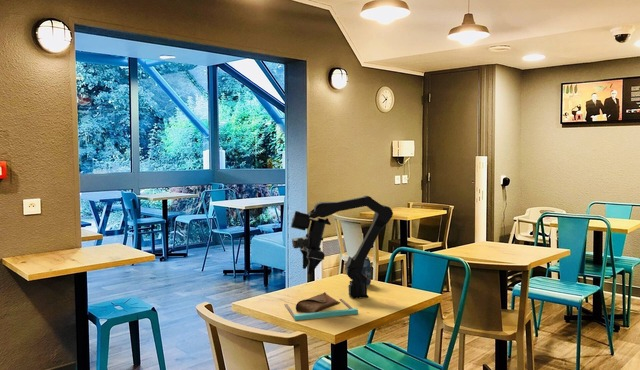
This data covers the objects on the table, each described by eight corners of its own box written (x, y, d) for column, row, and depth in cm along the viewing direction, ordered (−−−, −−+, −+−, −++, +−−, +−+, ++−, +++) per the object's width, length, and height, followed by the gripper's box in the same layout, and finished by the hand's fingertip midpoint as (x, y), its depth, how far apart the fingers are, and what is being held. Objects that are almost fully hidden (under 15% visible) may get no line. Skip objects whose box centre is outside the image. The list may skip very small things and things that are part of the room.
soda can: (370, 286, 230) (369, 259, 230) (354, 286, 232) (353, 259, 231) (371, 283, 237) (371, 256, 237) (356, 282, 238) (355, 256, 238)
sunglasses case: (313, 314, 192) (305, 297, 194) (300, 321, 196) (293, 304, 198) (341, 302, 207) (334, 286, 209) (329, 309, 211) (321, 293, 212)
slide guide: (342, 299, 211) (341, 295, 211) (358, 313, 191) (358, 309, 191) (284, 305, 206) (284, 301, 206) (295, 320, 186) (295, 316, 186)
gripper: (291, 225, 219) (282, 262, 219) (301, 233, 201) (291, 273, 201) (317, 231, 222) (308, 267, 222) (329, 239, 204) (319, 278, 204)
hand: (306, 271), depth 212 cm, fingers open, 9 cm apart
